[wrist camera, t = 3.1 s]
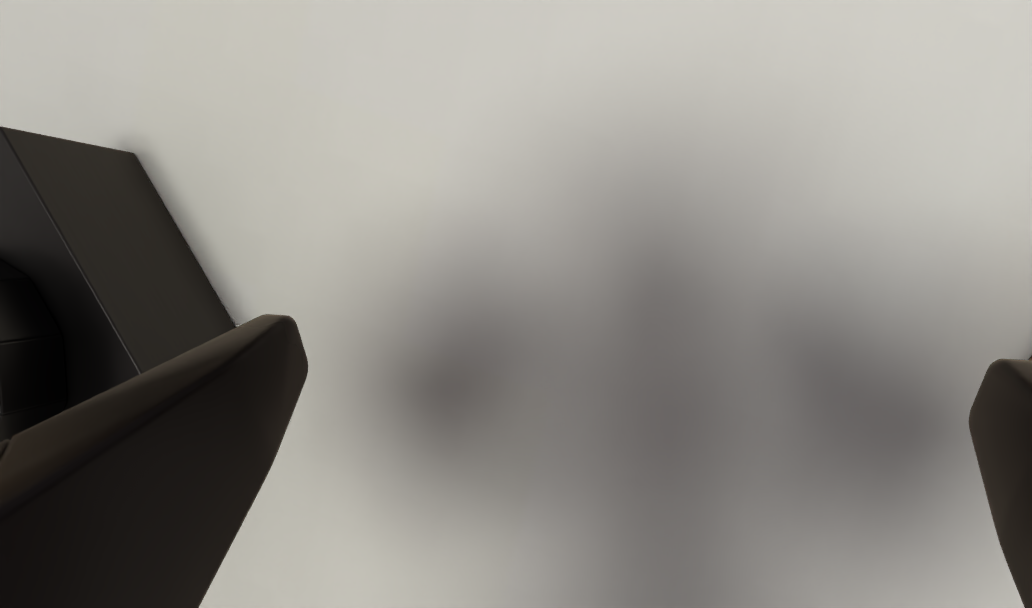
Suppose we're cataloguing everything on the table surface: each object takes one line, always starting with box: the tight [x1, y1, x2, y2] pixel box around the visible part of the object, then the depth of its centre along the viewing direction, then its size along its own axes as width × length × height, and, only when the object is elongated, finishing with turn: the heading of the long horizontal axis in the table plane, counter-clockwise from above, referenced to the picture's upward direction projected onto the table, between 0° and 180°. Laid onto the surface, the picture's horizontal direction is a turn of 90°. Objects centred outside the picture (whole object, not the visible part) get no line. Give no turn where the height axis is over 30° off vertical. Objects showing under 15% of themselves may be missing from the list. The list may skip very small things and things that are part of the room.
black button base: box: [0, 127, 235, 442], centre depth 21 cm, size 10×10×7 cm
